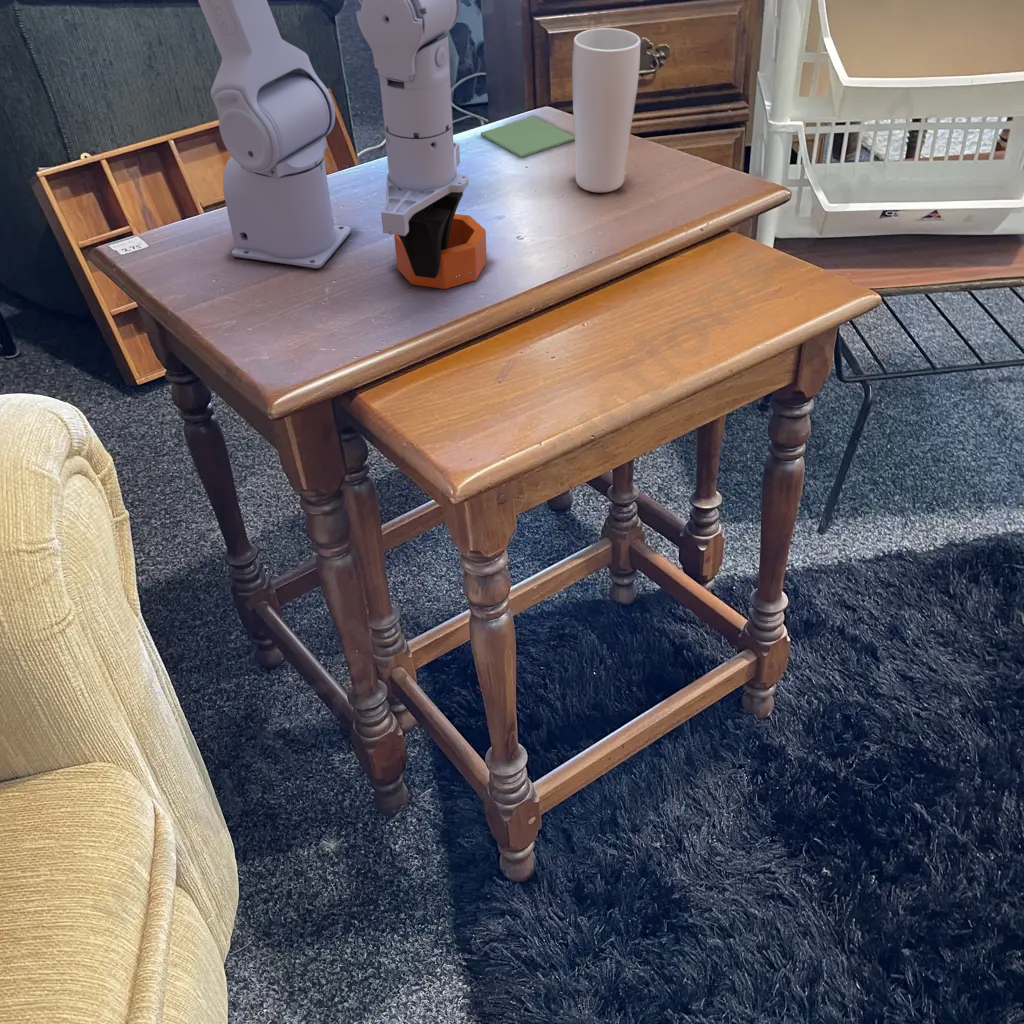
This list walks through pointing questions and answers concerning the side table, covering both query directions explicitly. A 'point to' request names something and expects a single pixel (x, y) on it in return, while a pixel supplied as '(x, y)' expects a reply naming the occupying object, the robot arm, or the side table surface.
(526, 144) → the mat
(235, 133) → the robot arm
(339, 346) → the side table surface
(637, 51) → the drinking glass
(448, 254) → the ring
